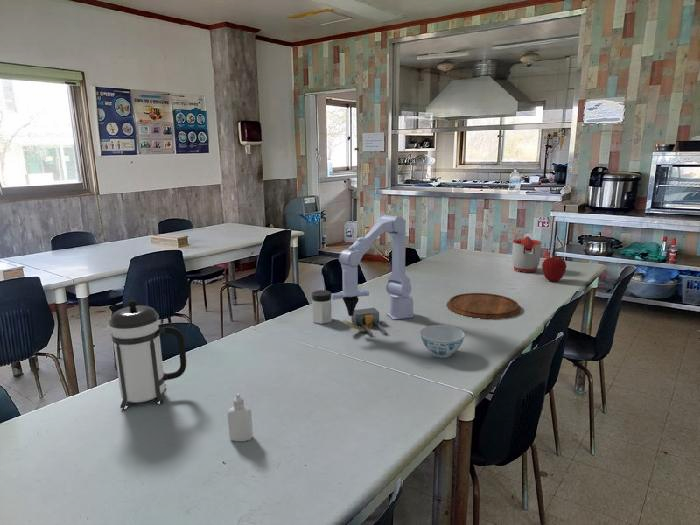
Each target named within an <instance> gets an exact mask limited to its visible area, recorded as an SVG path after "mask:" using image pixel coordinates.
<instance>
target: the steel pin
mask: <svg viewBox="0 0 700 525" xmlns="http://www.w3.org/2000/svg"><path fill="white" fill-rule="evenodd" d="M363 324H364V325H365V326H366V327H367V328H372V327H374V325H373V316H372V315H371V314H370V315H364V316H363Z"/></svg>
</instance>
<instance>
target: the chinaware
mask: <svg viewBox="0 0 700 525" xmlns="http://www.w3.org/2000/svg"><path fill="white" fill-rule="evenodd" d="M465 336H466V334H465V332H464V331H463V330H462V329H460V328H457V327H455V326H450V325H443V324H441V325H440V324H438V325H437V324H436V325H428V326H425V327H423V328H421V330H420V338H421V341H422V343H423V345H424V347H425V348H426V349H427V350H428V351H429V352H431V354H432V356H434V357H436V358H440V357H441V358H445V357H446V358H450V357H451V356H452V354H453V353H455V352H456V351H458V350H459V348H461V346H462V344H463V342H464V339H465ZM449 356H450V357H449Z"/></svg>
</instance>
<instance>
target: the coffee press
mask: <svg viewBox="0 0 700 525" xmlns="http://www.w3.org/2000/svg"><path fill="white" fill-rule="evenodd" d="M159 318H160V316H159V313H158V312H157V311H156V310H155V308H153V307H151V306H148V305H138V303H137V301H136V300H134V299H132V300H130V301H128V302H127V306H126V307H122V308H120V309H118V310H116V311H115V312H114V313H113V314H111V317H110V319H109V320H108V325H107V326H106V327H105V330H104V331H105V332H108V331H109V332H111V333H110V334H111V341H112V342H113V348H114V354H115V356H114V357H115V363H116V370H117V378H118V379H117V380H118V384H119V392H120V396H121V398H122V402H121V404H120V407H119V408H120V409H121V408H123V409H122V410H124V407H125V405H126V406H129V407H130V405H131V404H133V403H143V402H148V401H151V400H154V401H155V402H156V403H157V402H159V401H160V403H161V404H163V403H164V402H165V399H164V397H163V396H162V394H163V392H164V391H165V388H166V387H167V386H166V383H165V381H170V380H174V379H177V378H179V377H181V376H182V375H184V373H185V371H186V368H187V354H186V353H187V352H186V344H185V339H184V335H183V334H182V331H180V330H179V329H178V328H177V327H174V326H164V327H160V325H159ZM160 334H172V335H174V336H175V338H176V339H177V345H178V356H179V363H180V364H179V368H178V369H177V370H176V371H174V372H169V373H168V372H167V373H165V371H164V364H163V357H162V346H161V338H160ZM165 386H166V387H165ZM162 402H163V403H162Z"/></svg>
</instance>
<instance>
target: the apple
mask: <svg viewBox="0 0 700 525" xmlns="http://www.w3.org/2000/svg"><path fill="white" fill-rule="evenodd" d="M541 269H542V270H541V271H542V273H543V277H545V279H546V280H547V281H548V280H549V281H548V282H550V281H556V282H559V281H560V280H561V279H563V276H564V275H565V273H566V270H567V264H566V261H565V260H564V259H563V258H561V257H556V256H553V257H547V258H546V259H544V260H543V262H542V264H541Z"/></svg>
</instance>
